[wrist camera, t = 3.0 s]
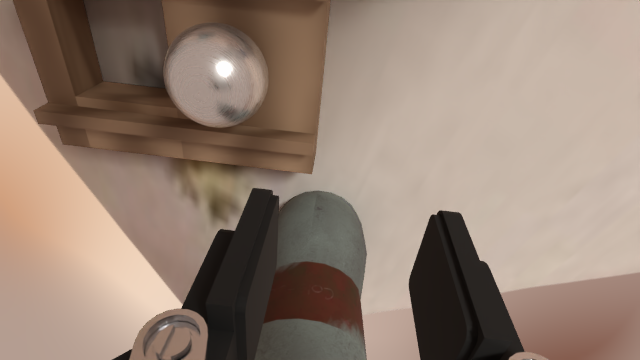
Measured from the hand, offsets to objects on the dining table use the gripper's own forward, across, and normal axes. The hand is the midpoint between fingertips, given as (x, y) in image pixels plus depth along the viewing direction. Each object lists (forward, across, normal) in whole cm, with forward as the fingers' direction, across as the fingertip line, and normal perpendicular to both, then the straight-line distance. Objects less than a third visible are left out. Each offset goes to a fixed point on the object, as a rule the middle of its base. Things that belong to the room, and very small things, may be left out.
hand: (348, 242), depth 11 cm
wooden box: (+19, +12, 0) cm, 23 cm away
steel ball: (+13, +8, 0) cm, 15 cm away
